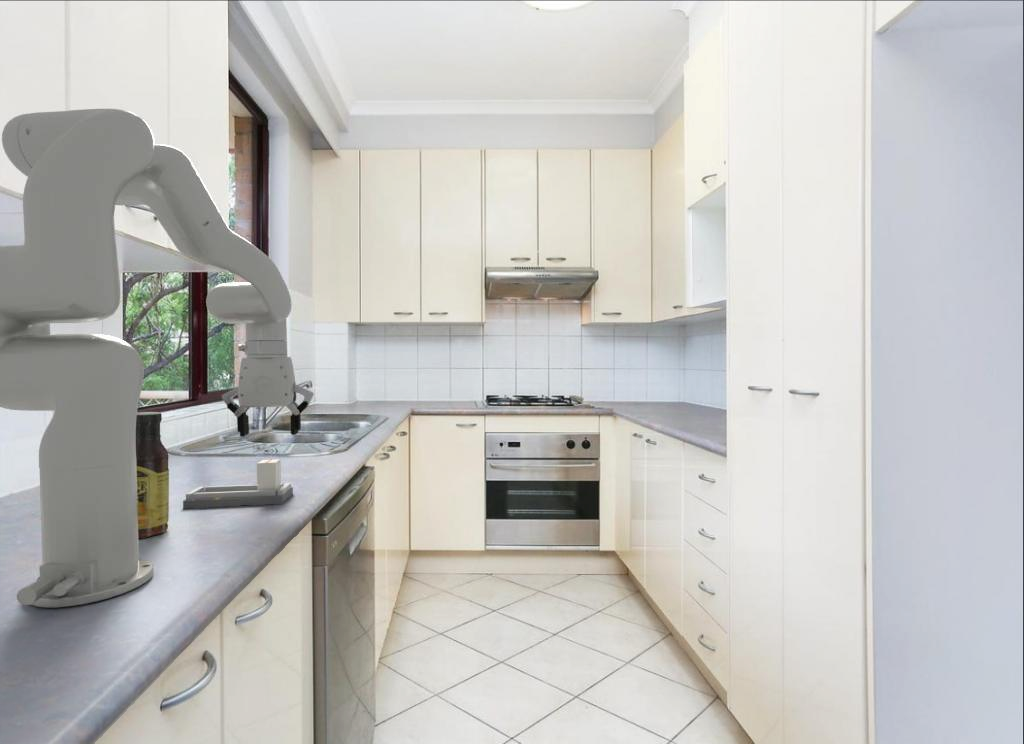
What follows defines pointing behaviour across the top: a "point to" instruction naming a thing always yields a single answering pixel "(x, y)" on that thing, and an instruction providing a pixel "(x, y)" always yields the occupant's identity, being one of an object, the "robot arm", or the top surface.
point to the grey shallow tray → (235, 496)
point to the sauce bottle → (151, 476)
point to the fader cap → (269, 475)
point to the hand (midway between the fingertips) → (269, 434)
